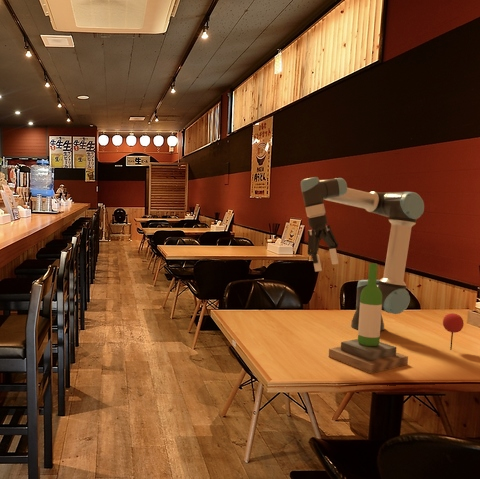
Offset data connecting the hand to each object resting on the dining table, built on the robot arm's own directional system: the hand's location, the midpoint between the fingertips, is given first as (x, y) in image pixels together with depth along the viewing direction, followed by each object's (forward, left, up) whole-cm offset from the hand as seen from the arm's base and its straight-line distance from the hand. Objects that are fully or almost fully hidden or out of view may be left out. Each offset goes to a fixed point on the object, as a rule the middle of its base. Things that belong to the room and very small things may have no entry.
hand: (327, 267), depth 187 cm
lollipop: (-44, +29, -32) cm, 62 cm away
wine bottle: (-1, +22, -26) cm, 34 cm away
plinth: (-1, +22, -32) cm, 39 cm away
